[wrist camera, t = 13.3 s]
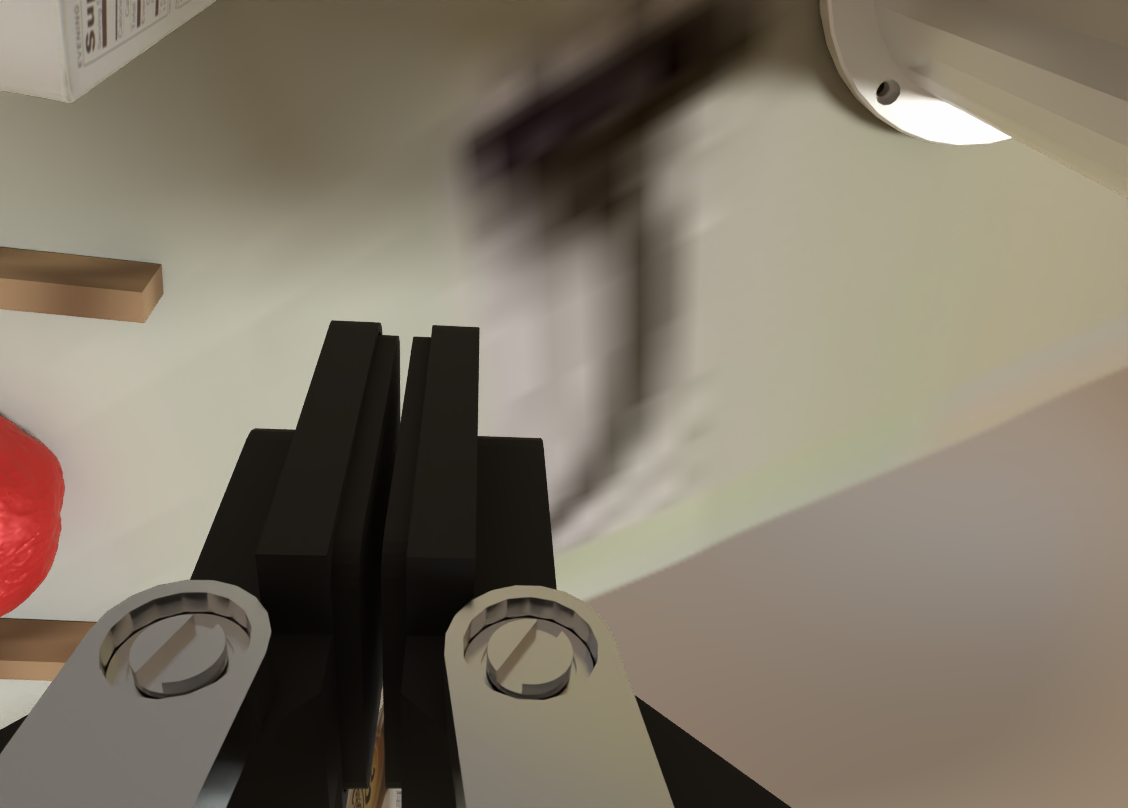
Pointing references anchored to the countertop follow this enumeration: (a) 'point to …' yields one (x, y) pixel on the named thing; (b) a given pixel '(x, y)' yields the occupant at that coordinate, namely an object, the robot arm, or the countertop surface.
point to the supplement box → (80, 41)
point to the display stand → (80, 293)
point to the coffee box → (376, 779)
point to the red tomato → (26, 513)
